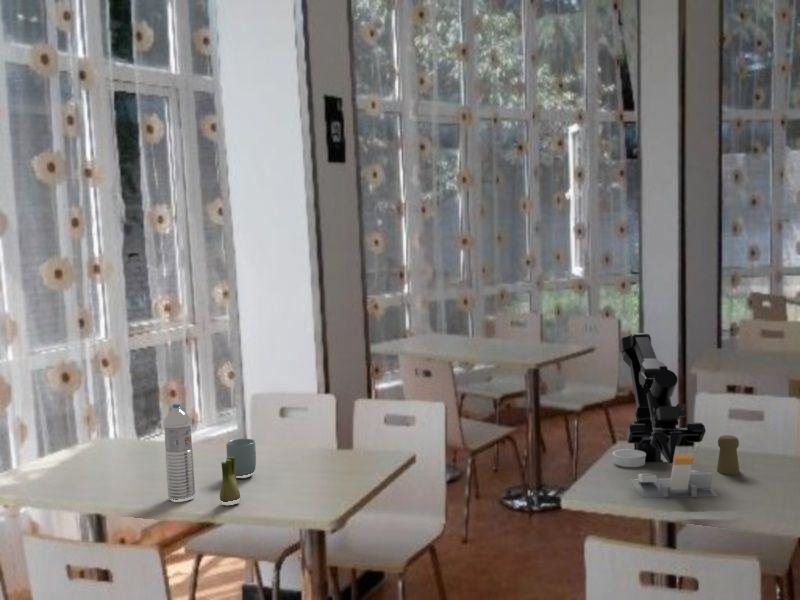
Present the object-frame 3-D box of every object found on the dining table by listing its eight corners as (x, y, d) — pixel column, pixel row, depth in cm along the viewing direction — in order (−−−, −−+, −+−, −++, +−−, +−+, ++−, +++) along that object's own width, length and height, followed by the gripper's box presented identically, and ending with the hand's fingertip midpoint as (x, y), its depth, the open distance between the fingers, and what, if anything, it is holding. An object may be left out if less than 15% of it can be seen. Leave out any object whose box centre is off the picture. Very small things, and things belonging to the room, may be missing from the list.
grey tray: (629, 484, 228) (629, 469, 227) (700, 483, 227) (700, 468, 226) (641, 503, 213) (641, 487, 212) (717, 502, 212) (718, 486, 211)
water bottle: (181, 504, 223) (175, 407, 221) (162, 501, 227) (156, 405, 225) (200, 497, 229) (195, 402, 227) (182, 493, 233) (176, 400, 230)
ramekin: (610, 471, 240) (610, 456, 239) (615, 463, 248) (615, 447, 248) (644, 474, 236) (644, 458, 236) (647, 465, 245) (647, 450, 244)
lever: (667, 489, 215) (673, 453, 208) (685, 489, 215) (692, 453, 208) (669, 495, 213) (675, 459, 206) (687, 494, 213) (694, 459, 206)
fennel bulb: (226, 509, 219) (224, 462, 217) (214, 505, 222) (212, 459, 221) (245, 503, 223) (243, 457, 222) (233, 499, 226) (231, 454, 225)
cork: (742, 480, 228) (742, 439, 227) (717, 480, 229) (717, 438, 228) (738, 474, 234) (738, 433, 233) (714, 473, 235) (714, 432, 234)
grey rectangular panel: (684, 487, 218) (685, 471, 216) (709, 486, 217) (710, 471, 215) (685, 490, 216) (687, 475, 214) (710, 490, 216) (712, 474, 214)
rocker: (638, 480, 225) (637, 473, 225) (652, 480, 225) (652, 473, 225) (642, 482, 220) (641, 475, 220) (656, 481, 220) (656, 474, 220)
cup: (222, 480, 244) (220, 444, 243) (238, 472, 251) (236, 437, 250) (247, 482, 241) (245, 446, 240) (261, 474, 248) (260, 439, 247)
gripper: (628, 393, 224) (637, 447, 214) (703, 391, 222) (716, 446, 213) (622, 415, 232) (631, 469, 223) (695, 414, 231) (706, 468, 221)
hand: (671, 462), depth 220 cm, fingers closed
